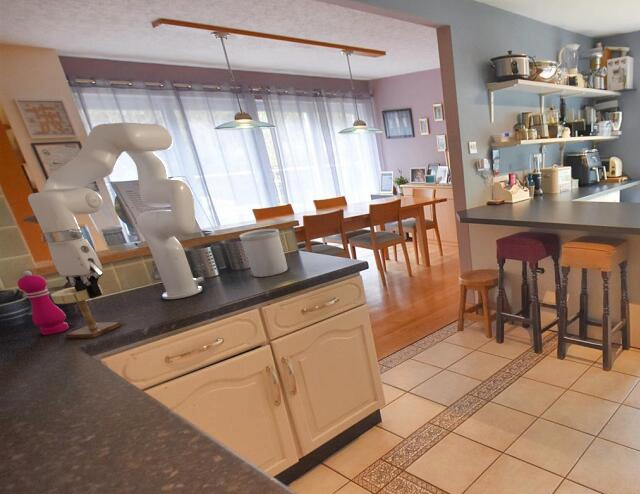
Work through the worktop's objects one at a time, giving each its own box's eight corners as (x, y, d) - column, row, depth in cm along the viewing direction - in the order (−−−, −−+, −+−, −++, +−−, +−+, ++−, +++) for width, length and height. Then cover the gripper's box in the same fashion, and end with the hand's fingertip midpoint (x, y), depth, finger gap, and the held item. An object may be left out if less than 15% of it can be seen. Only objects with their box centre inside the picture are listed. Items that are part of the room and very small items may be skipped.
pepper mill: (51, 336, 134) (20, 274, 127) (33, 335, 136) (1, 274, 128) (77, 326, 141) (49, 267, 133) (60, 326, 142) (31, 267, 135)
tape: (81, 291, 137) (78, 284, 136) (112, 291, 136) (109, 283, 135) (44, 304, 127) (40, 296, 126) (77, 303, 126) (73, 295, 125)
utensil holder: (262, 279, 179) (250, 237, 173) (244, 275, 187) (232, 234, 181) (295, 269, 191) (285, 229, 184) (277, 266, 198) (266, 227, 192)
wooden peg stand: (96, 325, 140) (78, 287, 135) (121, 325, 139) (104, 286, 134) (67, 338, 132) (47, 297, 127) (93, 337, 131) (74, 296, 126)
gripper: (102, 232, 127) (126, 292, 133) (53, 234, 128) (79, 293, 135) (76, 238, 120) (103, 300, 126) (24, 240, 121) (54, 302, 128)
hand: (91, 296), depth 131 cm, fingers closed on tape, 2 cm apart
